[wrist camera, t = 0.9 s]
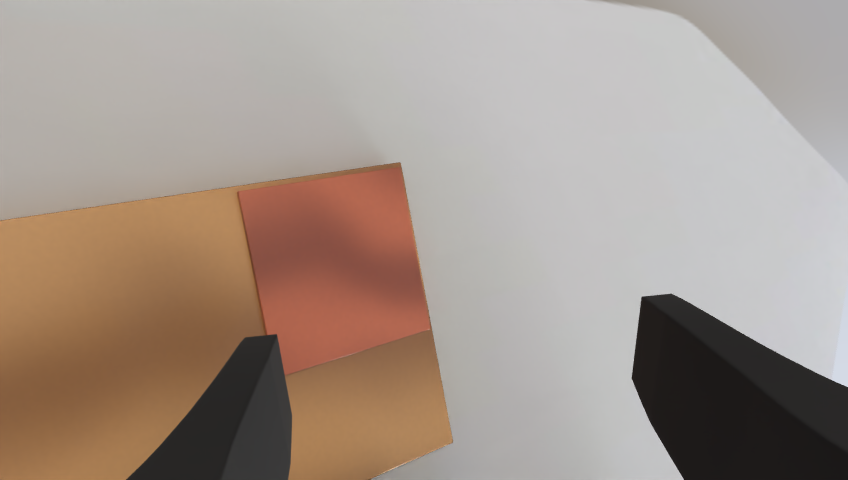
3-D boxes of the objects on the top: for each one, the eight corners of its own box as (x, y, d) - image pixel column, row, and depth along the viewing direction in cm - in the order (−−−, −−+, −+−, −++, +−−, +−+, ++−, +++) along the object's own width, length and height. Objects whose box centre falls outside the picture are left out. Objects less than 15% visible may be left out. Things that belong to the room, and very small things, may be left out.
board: (440, 438, 29) (456, 443, 28) (15, 621, 20) (16, 639, 19) (388, 165, 28) (403, 161, 27) (-75, 233, 19) (-79, 231, 18)
